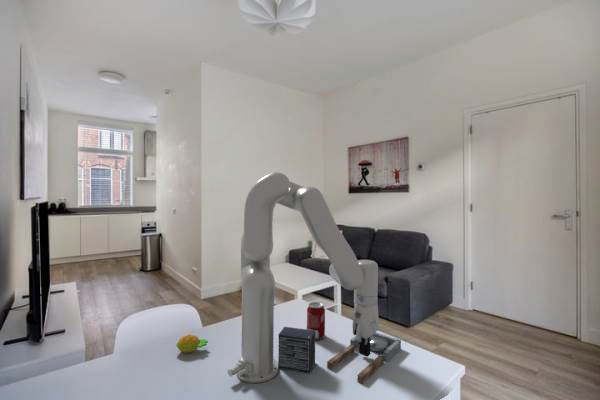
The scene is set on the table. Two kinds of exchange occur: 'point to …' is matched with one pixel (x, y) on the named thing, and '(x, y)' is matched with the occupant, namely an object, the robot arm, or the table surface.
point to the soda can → (316, 319)
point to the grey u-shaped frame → (392, 349)
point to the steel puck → (378, 344)
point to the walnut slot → (364, 373)
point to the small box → (297, 349)
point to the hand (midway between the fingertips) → (364, 354)
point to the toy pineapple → (190, 343)
